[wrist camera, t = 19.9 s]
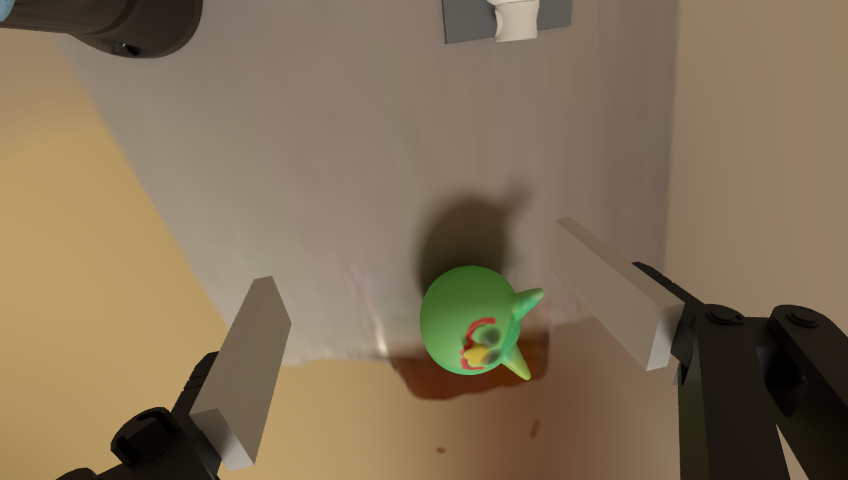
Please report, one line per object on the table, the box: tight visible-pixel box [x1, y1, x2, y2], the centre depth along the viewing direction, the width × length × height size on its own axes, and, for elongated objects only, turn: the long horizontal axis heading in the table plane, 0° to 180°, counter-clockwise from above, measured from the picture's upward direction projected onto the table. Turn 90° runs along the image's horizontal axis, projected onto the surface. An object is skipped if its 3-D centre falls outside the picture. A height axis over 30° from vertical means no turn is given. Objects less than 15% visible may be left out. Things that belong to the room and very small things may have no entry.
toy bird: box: [420, 265, 544, 380], centre depth 55 cm, size 18×17×15 cm
